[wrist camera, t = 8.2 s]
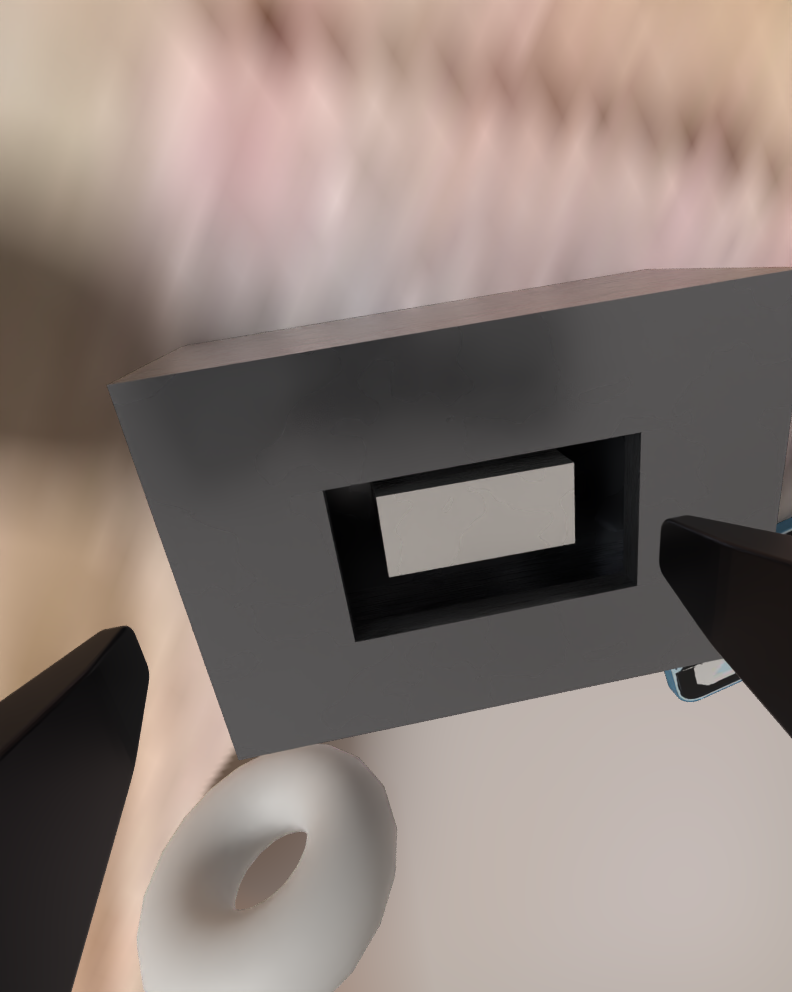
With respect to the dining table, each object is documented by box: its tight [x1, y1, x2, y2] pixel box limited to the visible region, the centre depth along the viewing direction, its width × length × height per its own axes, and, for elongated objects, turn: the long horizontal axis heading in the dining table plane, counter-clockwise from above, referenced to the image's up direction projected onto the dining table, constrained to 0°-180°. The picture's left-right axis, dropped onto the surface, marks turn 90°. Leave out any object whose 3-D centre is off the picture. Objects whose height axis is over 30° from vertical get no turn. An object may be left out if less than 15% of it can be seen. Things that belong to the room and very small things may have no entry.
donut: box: [137, 744, 397, 992], centre depth 21 cm, size 10×3×10 cm, turn 111°
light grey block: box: [370, 448, 575, 577], centre depth 18 cm, size 6×2×5 cm, turn 98°
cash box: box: [107, 267, 792, 760], centre depth 18 cm, size 16×11×7 cm
